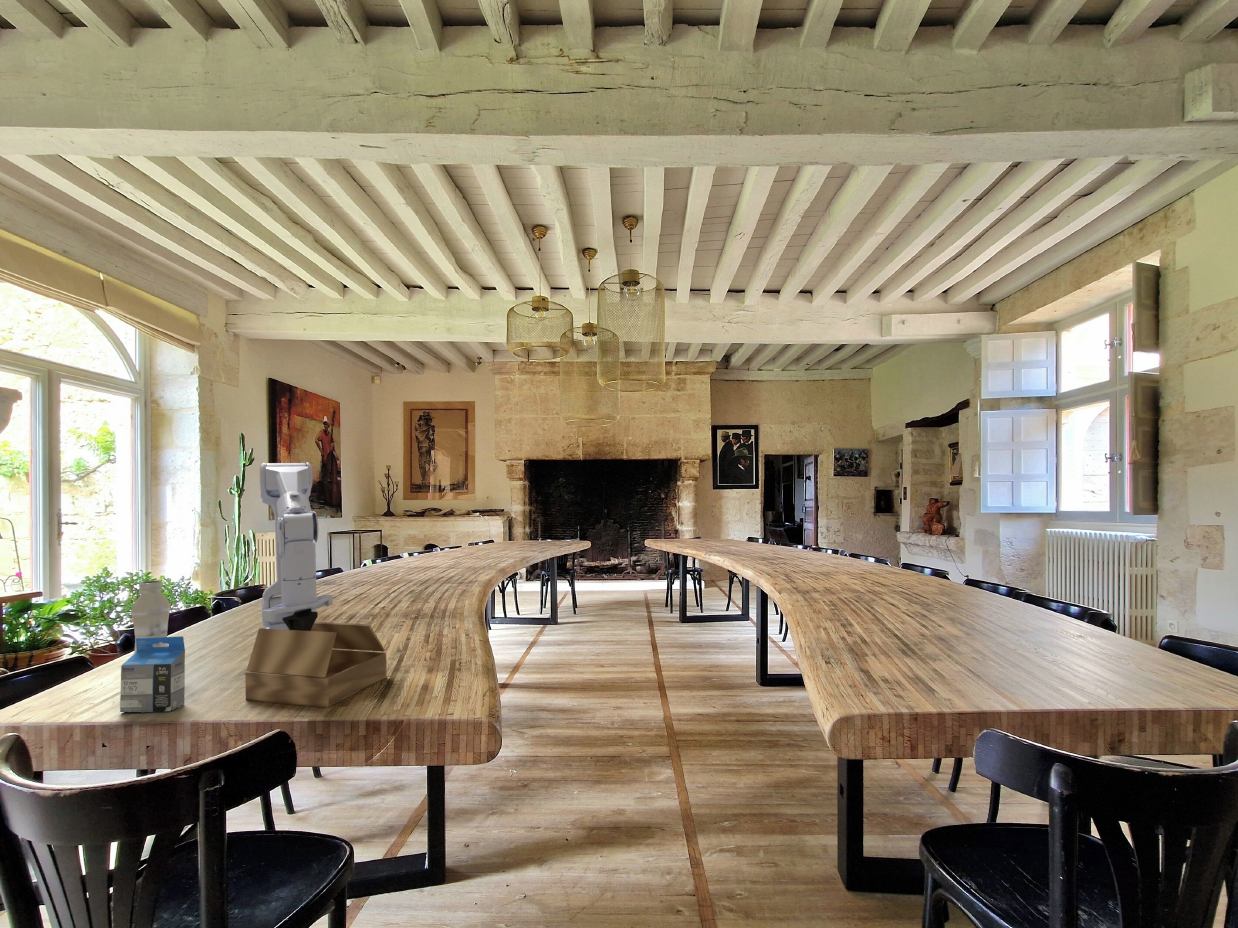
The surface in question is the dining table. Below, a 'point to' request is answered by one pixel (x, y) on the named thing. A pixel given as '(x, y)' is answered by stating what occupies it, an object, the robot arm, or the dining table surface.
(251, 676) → the carton
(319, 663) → the flap near
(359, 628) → the flap far
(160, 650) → the label tape box
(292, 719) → the dining table surface
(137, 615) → the plastic bottle
